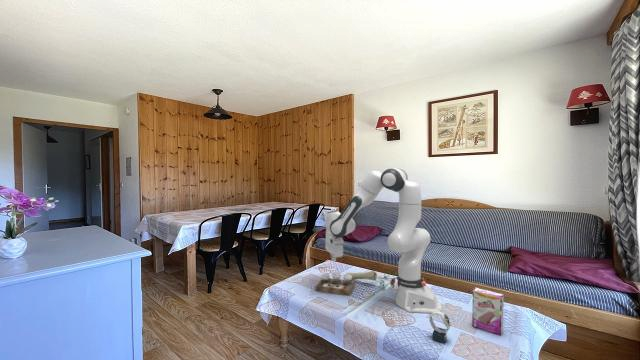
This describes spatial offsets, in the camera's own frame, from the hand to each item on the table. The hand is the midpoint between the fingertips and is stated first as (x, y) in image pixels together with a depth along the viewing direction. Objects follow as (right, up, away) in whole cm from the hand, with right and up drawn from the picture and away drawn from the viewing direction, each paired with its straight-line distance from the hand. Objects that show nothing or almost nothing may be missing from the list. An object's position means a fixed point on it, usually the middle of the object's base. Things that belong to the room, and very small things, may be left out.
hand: (333, 261), depth 169 cm
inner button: (+8, -10, -2) cm, 13 cm away
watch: (+41, -17, -52) cm, 69 cm away
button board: (+1, -16, -1) cm, 16 cm away
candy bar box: (+65, -17, -45) cm, 81 cm away
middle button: (+1, -10, 0) cm, 10 cm away
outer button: (-5, -11, +3) cm, 13 cm away
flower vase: (+23, -16, +2) cm, 28 cm away
